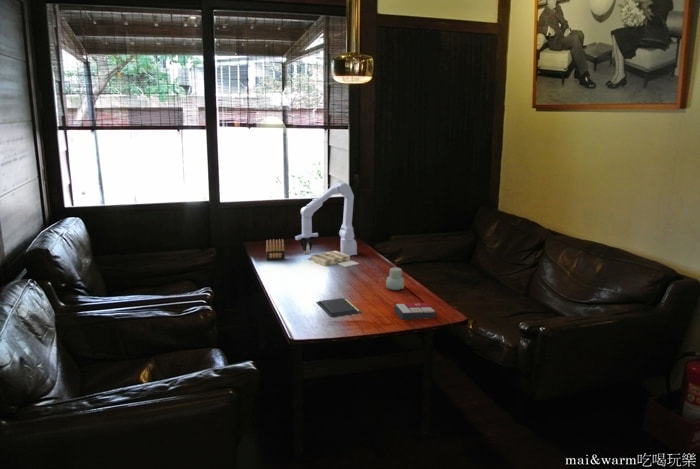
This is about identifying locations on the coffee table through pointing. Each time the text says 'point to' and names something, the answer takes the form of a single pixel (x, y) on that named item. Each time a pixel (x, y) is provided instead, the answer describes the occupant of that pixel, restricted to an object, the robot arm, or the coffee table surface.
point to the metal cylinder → (307, 248)
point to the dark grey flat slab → (338, 307)
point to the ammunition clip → (275, 250)
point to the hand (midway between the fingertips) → (307, 250)
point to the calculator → (414, 311)
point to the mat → (348, 263)
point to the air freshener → (395, 279)
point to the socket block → (329, 258)
